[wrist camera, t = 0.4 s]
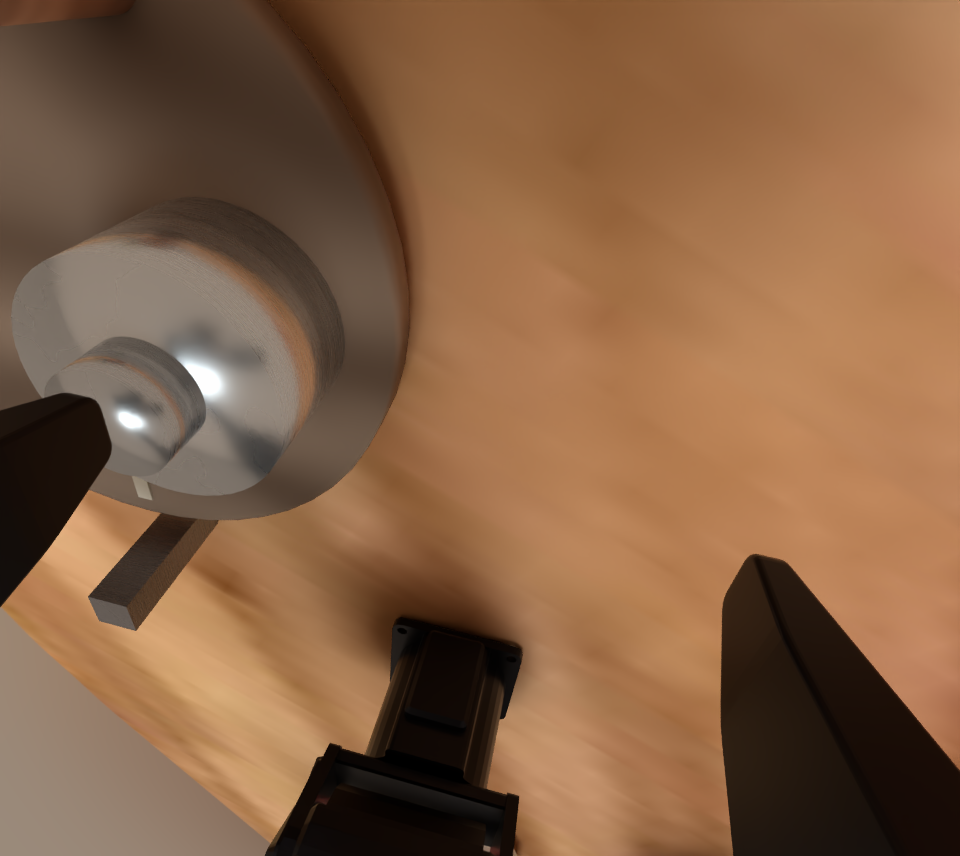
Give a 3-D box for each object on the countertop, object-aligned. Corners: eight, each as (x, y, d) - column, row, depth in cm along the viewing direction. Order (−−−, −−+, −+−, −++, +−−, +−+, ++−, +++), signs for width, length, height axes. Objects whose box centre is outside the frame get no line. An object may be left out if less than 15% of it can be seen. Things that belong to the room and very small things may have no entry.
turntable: (398, 541, 25) (353, 647, 21) (-37, 434, 27) (-151, 514, 23) (430, -94, 13) (337, -119, 9) (-380, -213, 14) (-757, -278, 11)
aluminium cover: (347, 433, 20) (267, 561, 16) (150, 388, 21) (22, 499, 16) (342, 223, 16) (229, 321, 11) (92, 174, 16) (-102, 249, 12)
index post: (217, 523, 29) (135, 630, 24) (186, 515, 29) (99, 620, 24) (212, 499, 28) (126, 607, 23) (180, 491, 28) (87, 597, 23)
